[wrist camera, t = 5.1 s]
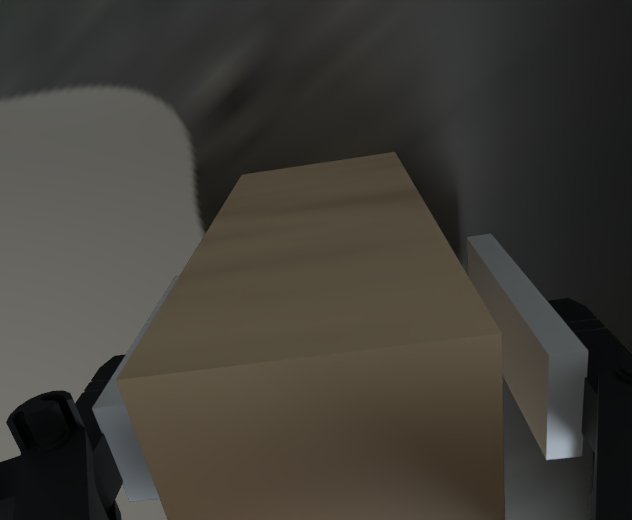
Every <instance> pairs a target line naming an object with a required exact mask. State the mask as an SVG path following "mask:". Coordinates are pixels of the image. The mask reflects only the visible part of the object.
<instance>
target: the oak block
mask: <svg viewBox="0 0 632 520" xmlns="http://www.w3.org/2000/svg"><path fill="white" fill-rule="evenodd" d="M116 382H117V385H118V388H119V390H120V393H121V396H122V398H123V401H124V404H125V406H126V409H127V412H128V414H129V417H130V420H131V423H132V425H133V428H134V431H135V433H136V436H137V439H138V441H139V444H140V447H141V449H142V452H143V455H144V457H145V460H146V463H147V465H148V468H149V471H150V474H151V476H152V479H153V482H154V484H155V487H156V490H157V492H158V495H159V498H160V500H161V503H162V506H163V508H164V511H165V514H166V516H167V519H168V520H505V496H504V436H503V376H502V333H501V331H500V330H499V328H498V326H497V324H496V323H495V321H494V319H493V318H492V316H491V314H490V313H489V311H488V309H487V307H486V306H485V304H484V302H483V301H482V299H481V297H480V296H479V294H478V292H477V290H476V289H475V287H474V285H473V284H472V282H471V280H470V279H469V277H468V275H467V273H466V272H465V270H464V268H463V267H462V265H461V263H460V262H459V260H458V258H457V256H456V255H455V253H454V251H453V250H452V248H451V246H450V245H449V243H448V241H447V239H446V238H445V236H444V234H443V233H442V231H441V229H440V228H439V226H438V224H437V222H436V221H435V219H434V217H433V216H432V214H431V212H430V211H429V209H428V207H427V205H426V204H425V202H424V200H423V199H422V197H421V195H420V194H419V192H418V190H417V188H416V187H415V185H414V183H413V182H412V180H411V178H410V177H409V175H408V173H407V172H406V170H405V168H404V166H403V165H402V163H401V161H400V160H399V158H398V156H397V155H396V153H395V152H390V153H383V154H377V155H370V156H363V157H357V158H350V159H343V160H337V161H330V162H323V163H317V164H310V165H303V166H297V167H290V168H283V169H277V170H270V171H263V172H257V173H250V174H243V175H241V177H240V178H239V180H238V182H237V183H236V185H235V187H234V188H233V190H232V191H231V193H230V195H229V196H228V198H227V200H226V201H225V203H224V204H223V206H222V208H221V209H220V211H219V213H218V214H217V216H216V217H215V219H214V221H213V222H212V224H211V226H210V227H209V229H208V231H207V232H206V234H205V235H204V237H203V239H202V241H201V242H200V244H199V245H198V247H197V248H196V250H195V252H194V253H193V255H192V257H191V258H190V260H189V261H188V263H187V265H186V266H185V268H184V270H183V271H182V273H181V275H180V276H179V278H178V279H177V281H176V283H175V284H174V286H173V288H172V289H171V291H170V292H169V294H168V296H167V297H166V299H165V301H164V302H163V304H162V305H161V307H160V309H159V310H158V312H157V314H156V315H155V317H154V318H153V320H152V322H151V323H150V325H149V327H148V328H147V330H146V332H145V333H144V335H143V336H142V338H141V340H140V341H139V343H138V345H137V346H136V348H135V349H134V351H133V353H132V354H131V356H130V358H129V359H128V361H127V362H126V364H125V366H124V367H123V369H122V371H121V372H120V374H119V375H118V377H117V379H116Z"/></svg>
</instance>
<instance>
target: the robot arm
mask: <svg viewBox="0 0 632 520" xmlns="http://www.w3.org/2000/svg"><path fill="white" fill-rule="evenodd" d="M467 256H468V277H469V279H470V280H471V282H472V284H473V285H474V287H475V289H476V290H477V292H478V294H479V296H480V297H481V299H482V301H483V302H484V304H485V306H486V307H487V309H488V311H489V313H490V314H491V316H492V318H493V319H494V321H495V323H496V324H497V326H498V328H499V330H500V331H501V333H502V375H503V377H504V379H505V381H506V383H507V385H508V387H509V389H510V391H511V393H512V395H513V397H514V399H515V401H516V402H517V404H518V406H519V408H520V410H521V412H522V414H523V416H524V418H525V420H526V422H527V424H528V426H529V428H530V430H531V431H532V433H533V435H534V437H535V439H536V441H537V443H538V445H539V447H540V449H541V451H542V453H543V455H544V457H545V459H546V460H551V459H561V458H571V457H581V456H582V449H583V436H584V437H585V439H586V440H587V442H588V443H589V445H590V447H591V448H592V450H593V462H592V476H591V490H590V492H591V519H590V520H632V354H631V353H630V352H629V351H628V350H627V349H626V348H625V347H624V346H623V345H622V344H621V343H620V342H619V341H618V339H617V338H616V337H615V336H614V335H613V334H612V333H611V332H610V331H609V330H608V329H605V326H604V325H603V324H602V323H601V322H600V321H599V320H597V318H596V317H595V315H594V314H593V313H592V312H591V311H590V310H589V309H588V308H587V307H586V306H584V305H582V304H580V303H578V302H576V301H574V300H572V299H570V298H566V299H558V300H550V301H547V300H546V299H545V298H544V297H543V295H542V294H541V293H540V292H539V291H538V289H537V288H536V287H535V286H534V285H533V283H532V282H531V281H530V280H529V279H528V277H527V276H526V275H525V274H524V273H523V271H522V270H521V269H520V268H519V267H518V265H517V264H516V263H515V262H514V260H513V259H512V258H511V257H510V256H509V254H508V253H507V252H506V251H505V250H504V248H503V247H502V246H501V245H500V244H499V242H498V241H497V240H496V239H495V238H494V236H493V235H492V234H484V235H477V236H470V237H467ZM178 278H179V276H175V278H174V279H173V281H172V282H171V284H170V286H169V287H168V289H167V290H166V292H165V294H164V295H163V297H162V298H161V300H160V302H159V303H158V305H157V306H156V308H155V309H154V311H153V313H152V314H151V316H150V317H149V319H148V320H147V322H146V324H145V325H144V327H143V329H142V330H141V331H140V333H139V335H138V336H137V338H136V339H135V341H134V343H133V344H132V346H131V347H130V349H129V351H128V352H127V354H126V355H119V356H114V357H112V358H111V359H110V360H109V361H107V362H106V363H105V364H104V365H103V366H101V367H100V368H99V370H98V371H97V373H96V374H95V376H94V377H93V378H92V380H91V381H92V382H90V383H89V384H88V386H87V387H86V389H85V392H84V393H82V394H81V396H80V397H79V399H78V400H77V402H76V403H74V401H73V398H72V396H71V394H70V393H68V392H66V391H51V392H47V393H44V394H41V395H38V396H36V397H34V398H31V399H29V400H28V401H26V402H25V403H23V404H22V405H20V406H18V407H17V408H16V409H15V411H13V413H11V414H10V416H9V418H8V420H7V422H6V423H7V425H8V427H9V429H10V431H11V433H12V435H13V437H14V439H15V441H16V443H17V445H18V447H19V449H20V451H21V455H20V456H18V457H15V458H12V459H9V460H6V461H3V462H0V520H121V513H120V511H119V508H118V505H117V503H116V501H115V498H116V496H117V494H118V492H119V490H120V488H121V485H122V484H123V487H124V489H125V492H126V494H127V496H128V499H129V501H130V502H134V501H144V500H154V499H160V498H159V495H158V492H157V490H156V487H155V484H154V482H153V479H152V476H151V474H150V471H149V468H148V465H147V463H146V460H145V457H144V455H143V452H142V449H141V447H140V444H139V441H138V439H137V436H136V433H135V431H134V428H133V425H132V423H131V420H130V417H129V414H128V412H127V409H126V406H125V404H124V401H123V398H122V396H121V393H120V390H119V388H118V385H117V382H116V379H117V377H118V375H119V374H120V372H121V371H122V369H123V367H124V366H125V364H126V362H127V361H128V359H129V358H130V356H131V354H132V353H133V351H134V349H135V348H136V346H137V345H138V343H139V341H140V340H141V338H142V336H143V335H144V333H145V332H146V330H147V328H148V327H149V325H150V323H151V322H152V320H153V318H154V317H155V315H156V314H157V312H158V310H159V309H160V307H161V305H162V304H163V302H164V301H165V299H166V297H167V296H168V294H169V292H170V291H171V289H172V288H173V286H174V284H175V283H176V281H177V279H178Z"/></svg>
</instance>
